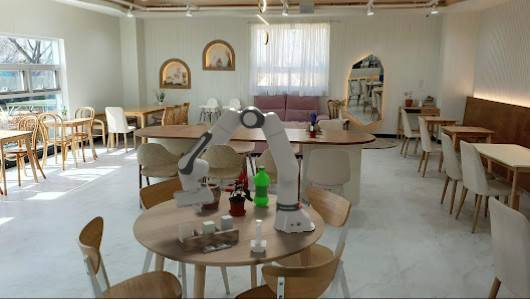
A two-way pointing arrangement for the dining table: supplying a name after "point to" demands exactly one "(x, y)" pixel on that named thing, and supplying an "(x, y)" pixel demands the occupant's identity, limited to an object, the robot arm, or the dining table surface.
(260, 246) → the white upright post stand
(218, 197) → the decorative planter
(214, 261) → the dining table surface
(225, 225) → the pale blue upright block
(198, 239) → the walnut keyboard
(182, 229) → the cream rectangular block
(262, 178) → the plastic bottle
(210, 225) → the sage key
